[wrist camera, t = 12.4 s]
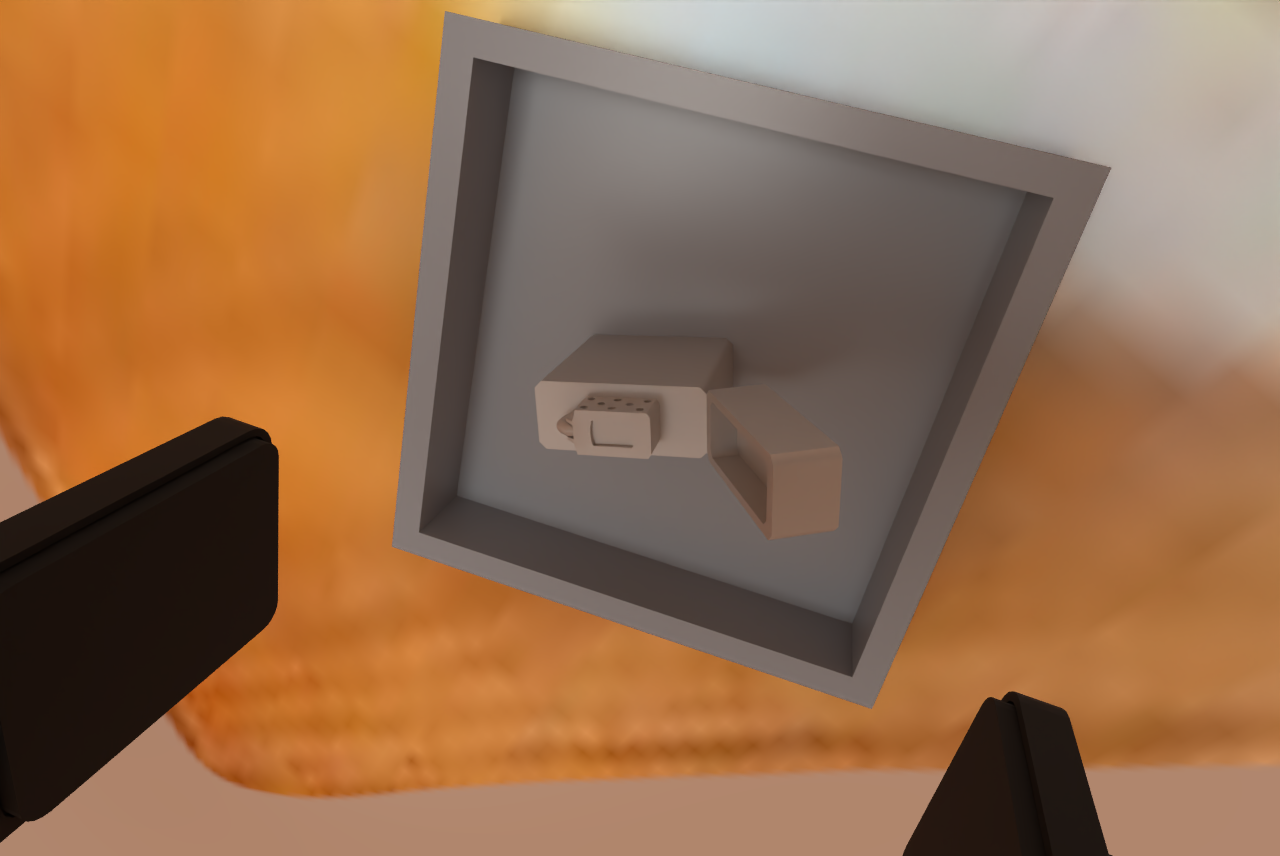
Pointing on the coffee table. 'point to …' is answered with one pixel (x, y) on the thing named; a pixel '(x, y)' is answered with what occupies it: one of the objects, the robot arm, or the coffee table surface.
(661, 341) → the lighter
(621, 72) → the tray
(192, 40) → the coffee table surface
